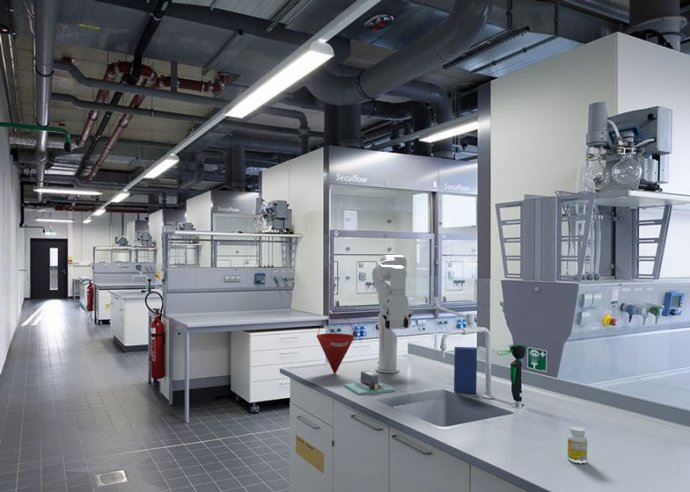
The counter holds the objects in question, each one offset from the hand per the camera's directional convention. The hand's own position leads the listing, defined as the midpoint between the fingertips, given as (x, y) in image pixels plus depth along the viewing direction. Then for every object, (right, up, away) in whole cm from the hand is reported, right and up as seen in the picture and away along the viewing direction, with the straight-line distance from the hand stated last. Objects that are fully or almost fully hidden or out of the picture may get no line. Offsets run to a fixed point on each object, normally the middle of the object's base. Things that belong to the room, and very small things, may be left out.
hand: (396, 328), depth 244 cm
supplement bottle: (+45, -25, -92) cm, 106 cm away
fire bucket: (-30, -26, +16) cm, 43 cm away
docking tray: (-14, -25, -13) cm, 32 cm away
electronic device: (+29, -27, -16) cm, 42 cm away
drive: (-14, -24, -13) cm, 31 cm away
